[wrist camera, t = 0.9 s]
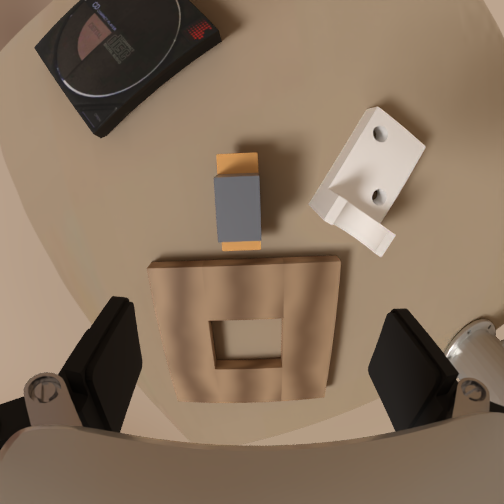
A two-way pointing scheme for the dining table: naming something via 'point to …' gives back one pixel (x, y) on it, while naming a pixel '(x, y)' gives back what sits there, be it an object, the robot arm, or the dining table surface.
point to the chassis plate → (247, 308)
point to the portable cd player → (122, 53)
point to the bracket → (368, 178)
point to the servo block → (238, 201)
